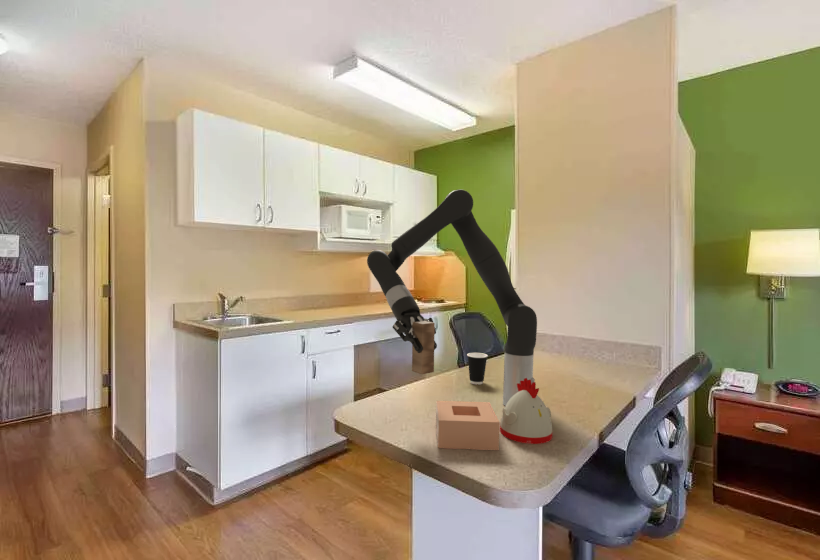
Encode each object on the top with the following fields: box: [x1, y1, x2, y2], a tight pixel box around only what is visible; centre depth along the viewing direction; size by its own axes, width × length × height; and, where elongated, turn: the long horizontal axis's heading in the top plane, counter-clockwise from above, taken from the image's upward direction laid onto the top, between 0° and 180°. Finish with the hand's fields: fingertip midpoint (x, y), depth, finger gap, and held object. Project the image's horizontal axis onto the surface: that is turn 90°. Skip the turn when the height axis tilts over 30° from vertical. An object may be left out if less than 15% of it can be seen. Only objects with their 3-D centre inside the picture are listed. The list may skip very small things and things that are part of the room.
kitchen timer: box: [499, 378, 553, 445], centre depth 114 cm, size 14×14×15 cm
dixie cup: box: [466, 352, 489, 385], centre depth 162 cm, size 8×8×11 cm
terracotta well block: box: [435, 400, 501, 451], centre depth 111 cm, size 15×15×7 cm
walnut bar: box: [411, 321, 436, 375], centre depth 118 cm, size 4×4×14 cm
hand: (427, 349), depth 116 cm, fingers closed on walnut bar, 4 cm apart
